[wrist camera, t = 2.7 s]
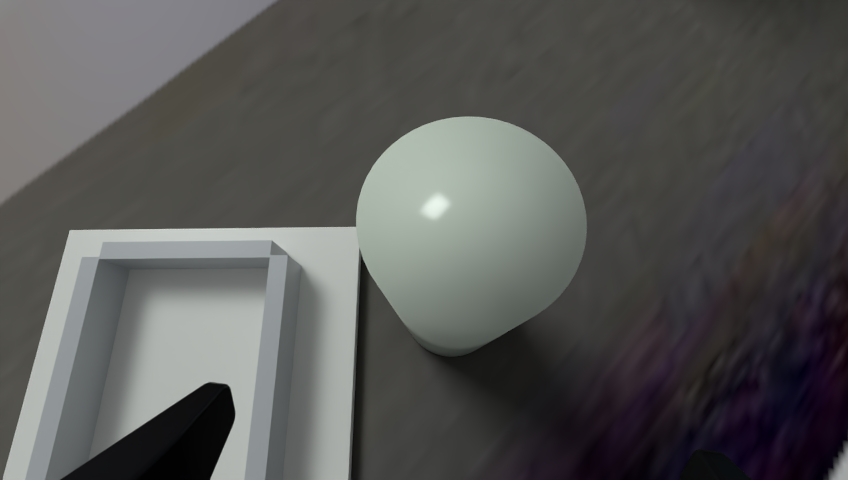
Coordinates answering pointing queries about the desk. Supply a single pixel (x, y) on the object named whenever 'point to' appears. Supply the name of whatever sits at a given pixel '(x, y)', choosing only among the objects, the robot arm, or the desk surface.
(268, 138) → the desk surface
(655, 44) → the desk surface
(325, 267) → the white railed tray
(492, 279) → the domed peg
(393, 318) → the desk surface
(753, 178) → the desk surface
